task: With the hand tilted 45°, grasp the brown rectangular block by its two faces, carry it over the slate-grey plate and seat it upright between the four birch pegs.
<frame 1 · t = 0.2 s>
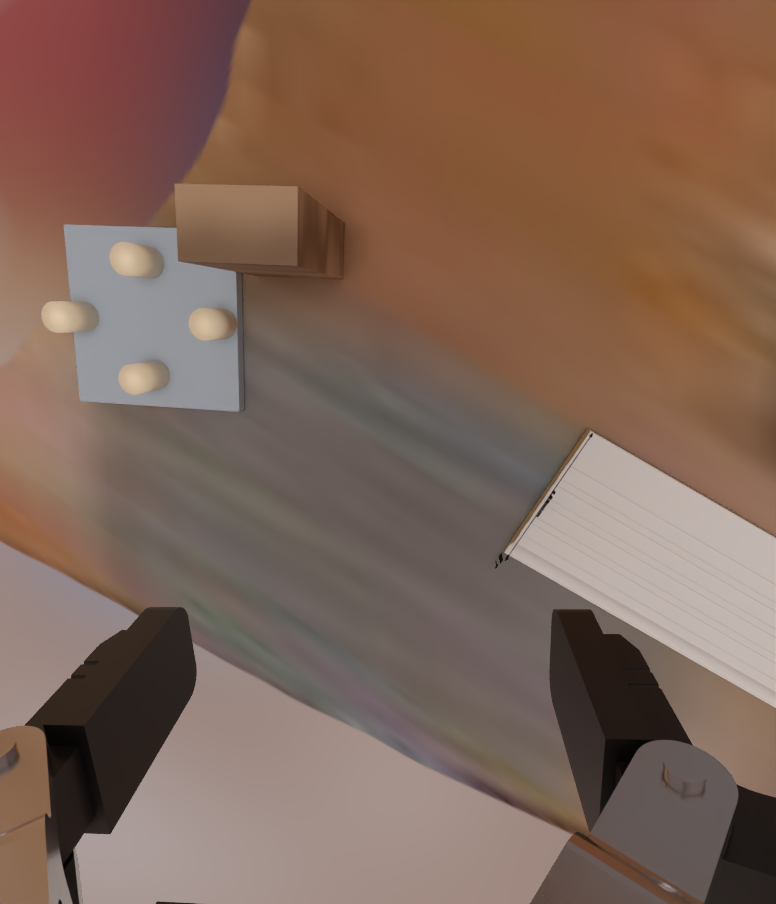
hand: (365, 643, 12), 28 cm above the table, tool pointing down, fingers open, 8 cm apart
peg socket: (160, 319, 40), on the table
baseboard: (720, 602, 40), on the table
brown rectangular block: (299, 249, 37), on the table
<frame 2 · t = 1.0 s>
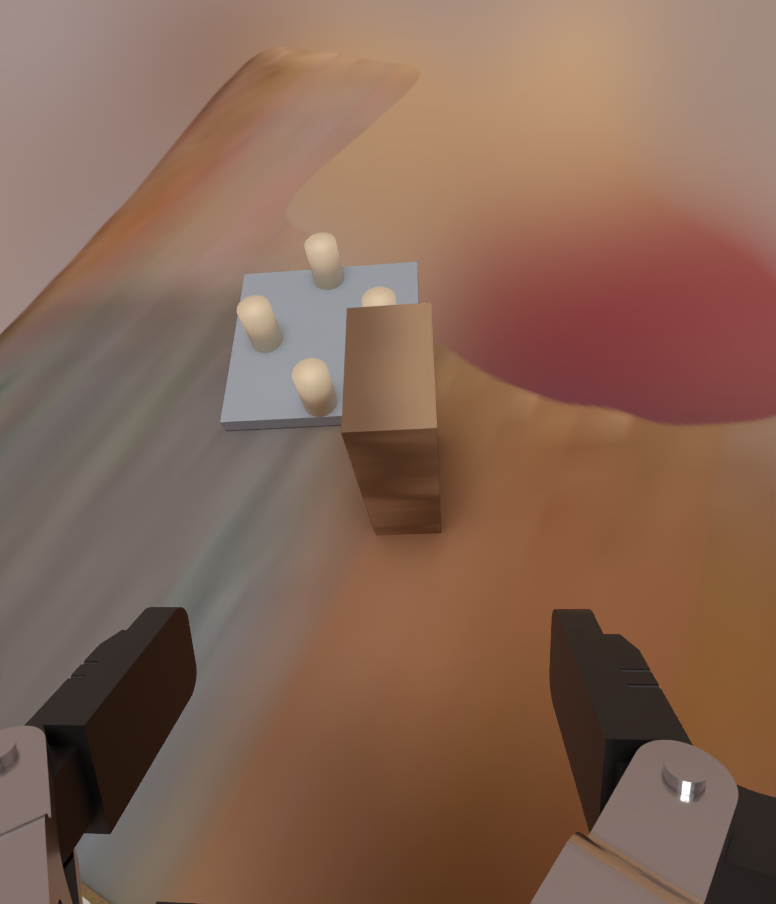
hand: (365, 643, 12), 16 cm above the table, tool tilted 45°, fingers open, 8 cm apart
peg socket: (328, 346, 37), on the table
brown rectangular block: (407, 483, 31), on the table
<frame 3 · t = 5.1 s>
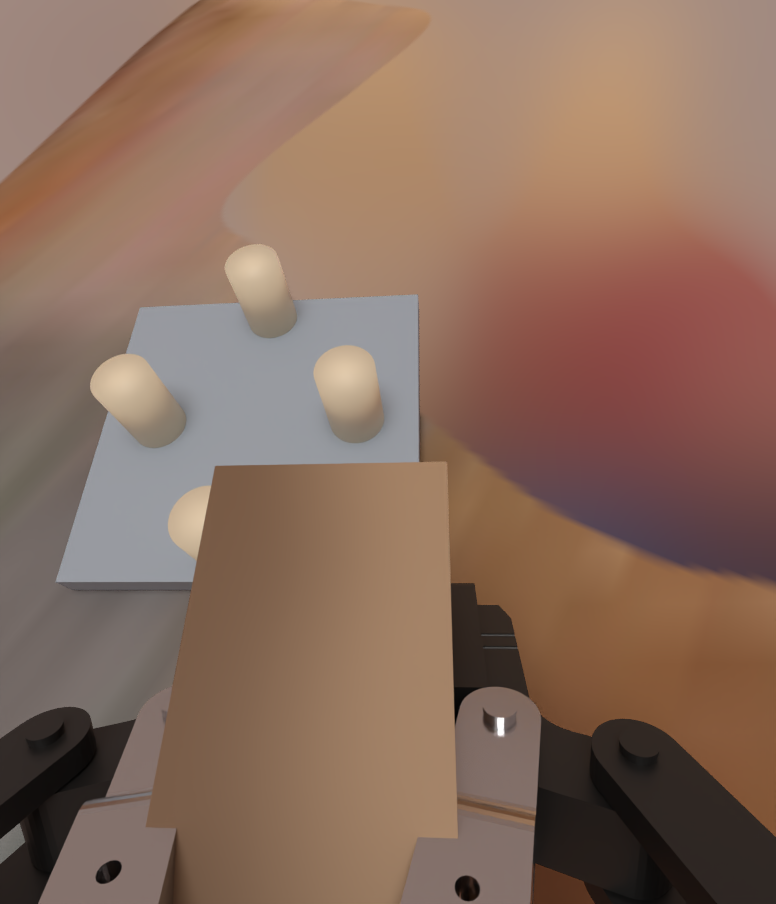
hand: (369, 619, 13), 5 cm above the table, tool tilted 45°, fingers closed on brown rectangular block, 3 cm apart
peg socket: (264, 435, 22), on the table
brown rectangular block: (387, 725, 17), on the table, touching gripper
when the fingers open (8 cm above the table, at t = 9.7 s): brown rectangular block stays where it is, resting on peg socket.
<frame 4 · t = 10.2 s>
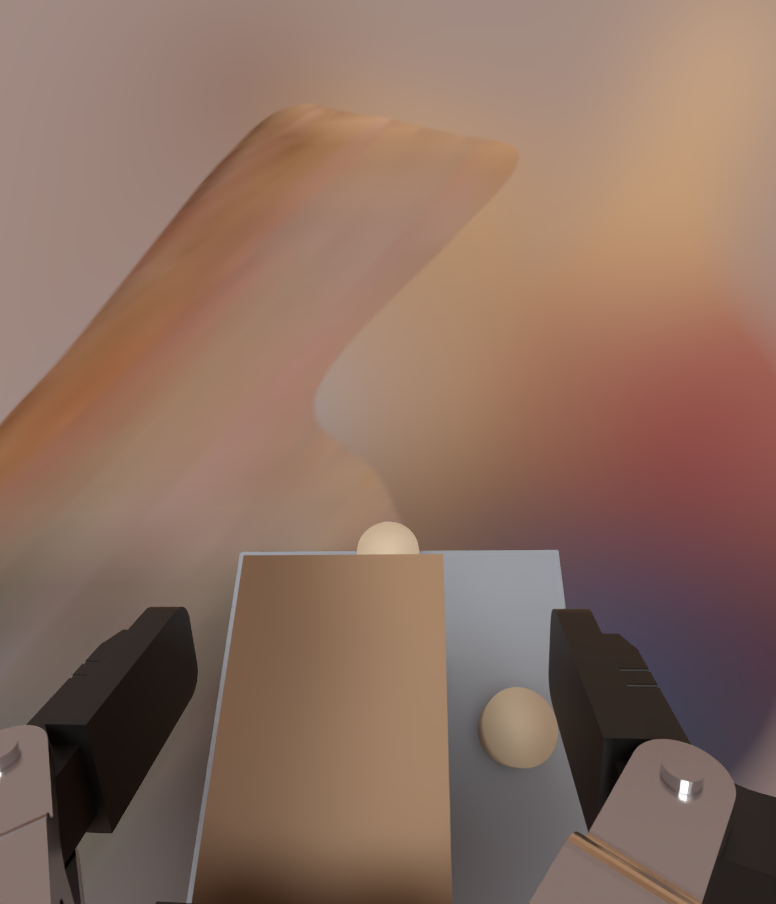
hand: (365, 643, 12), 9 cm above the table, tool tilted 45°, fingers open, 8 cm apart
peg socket: (394, 729, 19), on the table
brown rectangular block: (390, 754, 18), point 1 cm above the table, touching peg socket
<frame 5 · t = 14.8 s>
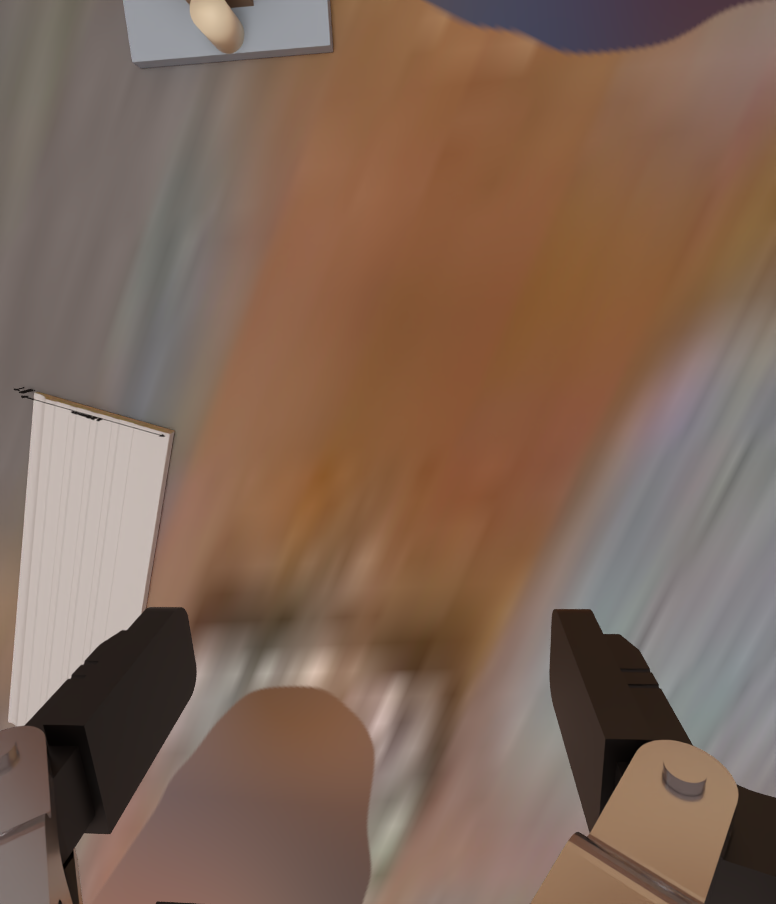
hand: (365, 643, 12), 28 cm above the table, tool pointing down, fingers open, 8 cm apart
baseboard: (81, 581, 46), on the table
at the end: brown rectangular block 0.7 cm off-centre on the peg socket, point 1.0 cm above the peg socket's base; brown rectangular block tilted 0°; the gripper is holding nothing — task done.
